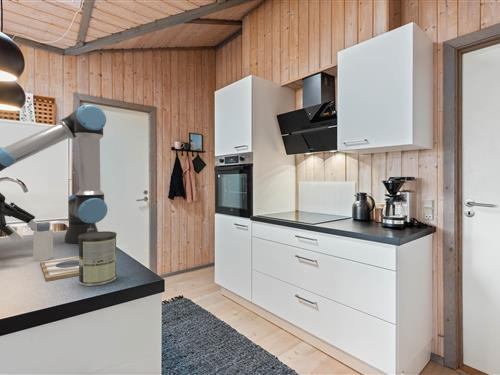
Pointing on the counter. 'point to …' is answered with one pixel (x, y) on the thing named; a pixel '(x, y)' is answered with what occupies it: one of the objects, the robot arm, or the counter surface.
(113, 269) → the coffee can
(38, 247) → the dome-capped white pillar
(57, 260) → the picture frame
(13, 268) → the counter surface
